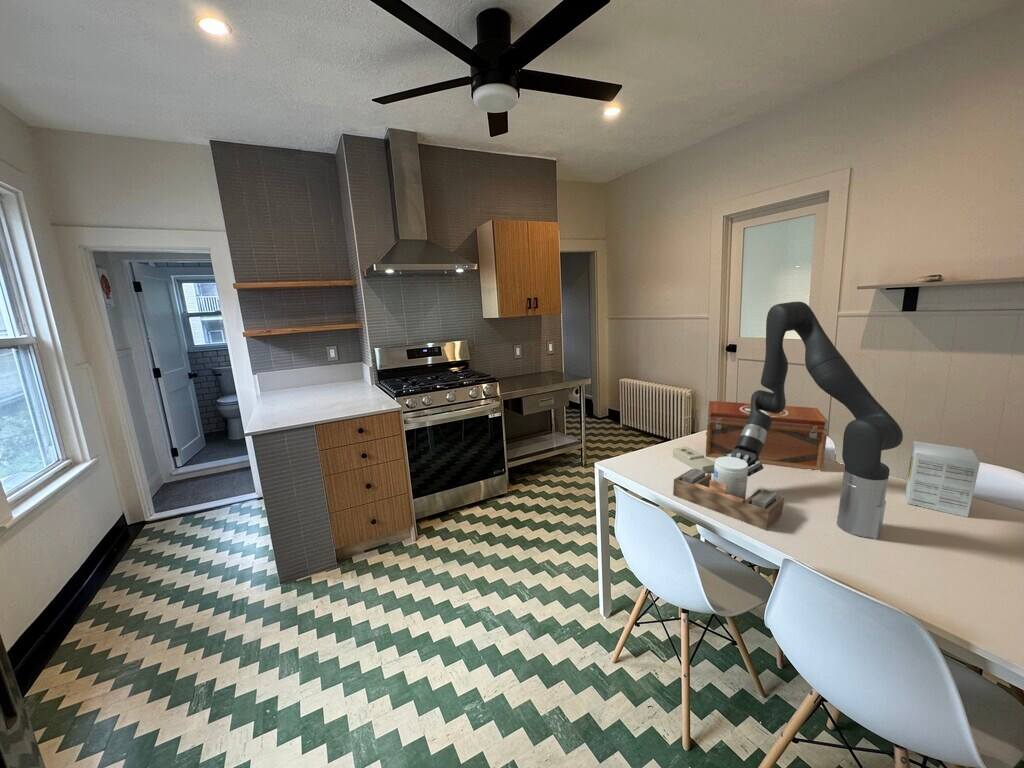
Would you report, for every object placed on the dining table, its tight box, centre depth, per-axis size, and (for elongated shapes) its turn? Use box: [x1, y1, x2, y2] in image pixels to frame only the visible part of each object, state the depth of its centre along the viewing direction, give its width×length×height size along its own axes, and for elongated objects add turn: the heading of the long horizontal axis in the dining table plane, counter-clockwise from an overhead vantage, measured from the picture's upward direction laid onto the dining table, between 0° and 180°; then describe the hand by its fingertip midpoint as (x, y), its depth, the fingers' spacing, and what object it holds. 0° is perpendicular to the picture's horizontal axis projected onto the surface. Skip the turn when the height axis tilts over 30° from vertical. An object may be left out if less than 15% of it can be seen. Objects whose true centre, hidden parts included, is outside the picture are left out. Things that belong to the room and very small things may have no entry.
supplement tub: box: [712, 456, 749, 501], centre depth 126 cm, size 10×10×15 cm
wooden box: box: [704, 400, 829, 472], centre depth 163 cm, size 20×41×20 cm, turn 62°
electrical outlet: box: [672, 446, 715, 474], centre depth 160 cm, size 7×4×18 cm
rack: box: [672, 468, 785, 531], centre depth 127 cm, size 29×13×10 cm, turn 38°
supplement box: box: [905, 440, 981, 518], centre depth 121 cm, size 13×13×18 cm
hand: (733, 483), depth 130 cm, fingers closed
